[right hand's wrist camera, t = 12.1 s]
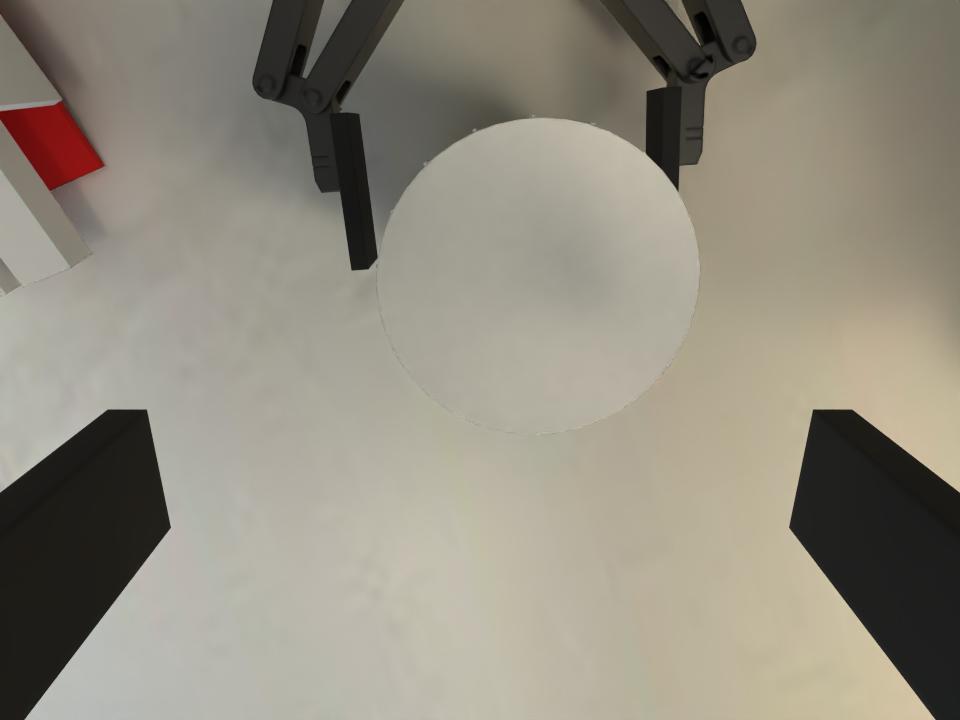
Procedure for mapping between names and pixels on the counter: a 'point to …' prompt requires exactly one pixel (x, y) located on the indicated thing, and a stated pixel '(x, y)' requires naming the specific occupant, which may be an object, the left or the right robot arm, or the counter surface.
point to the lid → (538, 275)
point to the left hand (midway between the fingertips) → (511, 254)
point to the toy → (35, 171)
